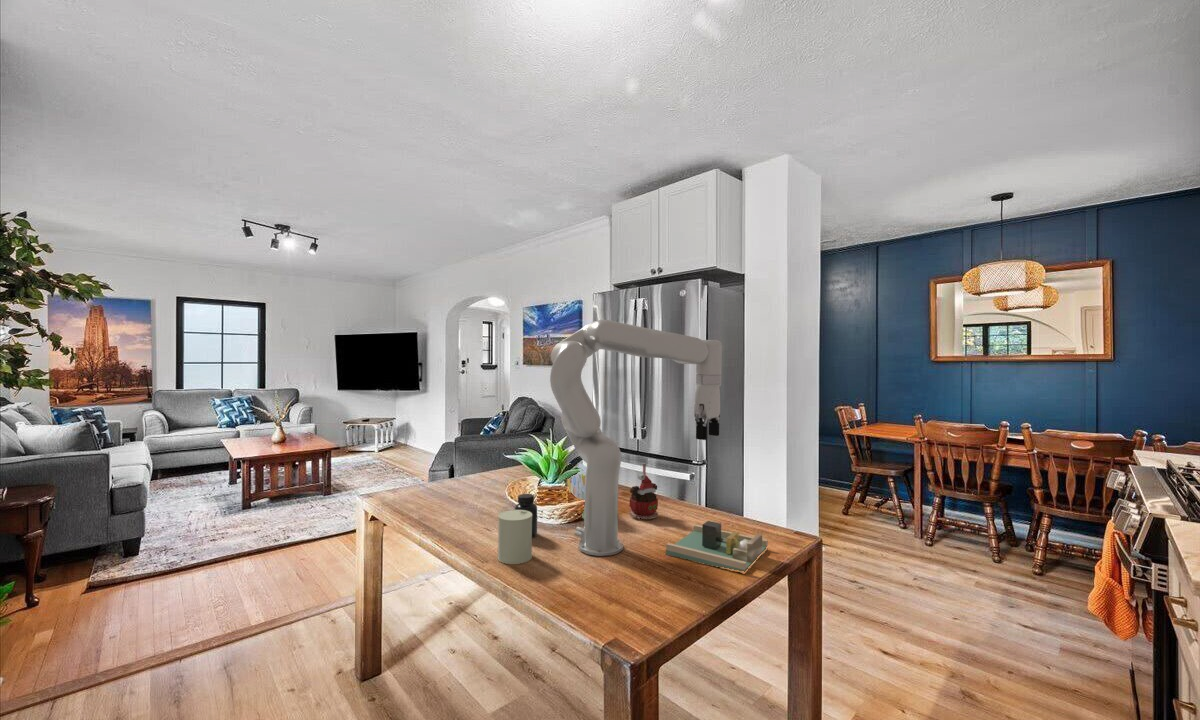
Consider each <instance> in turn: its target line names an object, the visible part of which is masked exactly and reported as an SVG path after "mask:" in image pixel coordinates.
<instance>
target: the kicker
mask: <svg viewBox="0 0 1200 720" xmlns="http://www.w3.org/2000/svg"><path fill="white" fill-rule="evenodd" d="M701 526H702V546H705V547H709V548H713V549H717V548H718V547H719V546H720V545H721V542H722V543H726V553H727V554H731V553H733V549H734V548H738V542H739V534H740V533H739V531H733V533H732V534H731V535H729V536H728V537H727V538H726V539H725V538H721V530H722V523H721V522H716V521H710V520H707V521H705V522H704V523H703V524H702V525H701Z"/></svg>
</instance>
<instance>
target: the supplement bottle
mask: <svg viewBox="0 0 1200 720" xmlns="http://www.w3.org/2000/svg"><path fill="white" fill-rule="evenodd" d="M534 502H535V495H534V494H532V493H521V494H518V496H517V504H516V505H515V507H514V510H526V511H529V512H531V513H532V539H533V538H535V537H536V536H537V535H538V506H537V504H535V503H534Z"/></svg>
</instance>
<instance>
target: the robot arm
mask: <svg viewBox="0 0 1200 720" xmlns="http://www.w3.org/2000/svg"><path fill="white" fill-rule="evenodd" d="M599 350H602V351H603V350H604V351H609V352H615V353H620V354H624V355H629V356H635V357H640V358H649V359H650V358H651V359H653V358H654V359H665V360H666V359H667V360H672V361H674V362H675V363H677V364H682V365H695V392H694V401H693V403H694V404H693V417H694V421H695V439H696V440H700V441H701V440H702V441H706V440H707V439H708V435H709V436H716V437H719V435H720V421H721V419H720V417H721V391H720V387H722V367H723V366H722V364H723V363H722V362H723V361H722V360H723V359H722V357H723V354H722V353H723V344H722V342H721V341H720V340H717V339H701V338H698V337H695V336H690V335H686V334H681V333H677V332H676V333H675V332H671V331H670V332H668V331H664V330H659V329H654V328H648V327H642V326H638V325H633V324H628V323H624V322H619V321H615V320H610V319H599V320H595V321H591V322H589V323H588V324H585V326H583V327H582V328H580V329H579V330H577V331H575V332H574V333H572V334H570V335H569V336H567V337H566V338H564V339H563V340H561V341H560V342H558V343H557V344H555V345H554V346H553V348H552V350H551V353H550V359H551V363H552V365H551V369H550V375H549V382H550V389H551V391H552V393H553V396H554V398H555V400H556V402H557V403H558V406H559V408H560V410H561V415H560V419H561V424H562V427H563V429H564V431H565V432H566V434H567V436H568V438H569V439H570V442H571V443H572V445H573V447H574V449H575V450H576V453H577V454H578V455H579V457H580V459H582V460H583V461H584V462H585V463H586V467H587V470H586V476H585V509H584V519H583V521H584V522H583V524H584V525H583V527H581V526H576V528H575V531H574V532H573V535H574V536H576V537H580V541H579V542H578V550H579V551H580V552H581V553H583V554H585V555H588V556H593V557H594V556H595V557H608V556H613V555H617V554H618V553H619V554H620V552H622V550H624V544H623V542H622V541H621V540H620V539H619V537H618V536H619V535H618V533H619V532H618V529H619V528H618V527H619V475H620V469H621V464H622V454H621V453H622V452H621V449H620V448H619V445H618V443H617V442H615V440H614V439H613V438H612V439H611V437H608V436H606V435H604V433H603V431H602V429H601V428H600V427H601V416H600V414H599V412H598V410H597V408H596V407H595V405H594V403H593V402H592V400H591V398H590V397H589V394H588V392H587V391H586V389H585V385H584V384H583V381H582V371H583V369H584V367H585V366H586V364H587V360H588V358H590V357H591V356H593V354H595V353H596V352H598V351H599ZM708 420H709V422H708ZM707 423H708V426H707Z"/></svg>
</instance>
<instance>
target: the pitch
mask: <svg viewBox="0 0 1200 720" xmlns="http://www.w3.org/2000/svg"><path fill="white" fill-rule="evenodd" d="M702 526H703V525H699V524H694V525H693V530H692V531H691V532H690V533H688V534H687V535H686V536H684V537H682V538H681V539H680V540H678V541H677V542H675V543H674V544H673V543H671V542H667V543H666V544H665V555H668V556H670V557H675V558H678V557H680V558H679V559H682V558H684V560H686V559H688V560H687V561H690V560H692V561H691V562H694V561H696V562H695V563H698V562H700V563H699V564H702V563H704V564H703V565H705V564H708V565H707V566H709V565H713V566H718V567H724V568H729V569H734V570H739V571H744V572H745V571H746V570H747V569H748V567H749V566H750V565H751V564H752V563H753V562H754V561H755V560H756V559H757V557H758V556H759V555H760V554H761V553H762V552H763V551H764V550H765V549H766V547H767V546H768V541H769V540H768V539H764V538H762V552H761V553H760V554H759V555H758V556H757V557H756V559H755V560H754V561H753V562H752V563H750V562H746V561H742V560H738V559H734V558H733V553H731V554H727V553H726V543H722V542H721V545H720V546H719V547H718V548H717V549H713V548H709V547H705V546H702ZM733 532H734V531H733ZM733 532H732V531H726V530H722V529H721V538H725V539H726V538H727V537H728V536H729V535H731V534H732V533H733ZM753 537H754V536H750V535H746V534H741V533H739V542H741V541H743V540H744V539H746V540H751V539H752V538H753ZM739 542H738V544H739ZM737 549H738V548H737ZM713 566H712V567H713Z"/></svg>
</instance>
